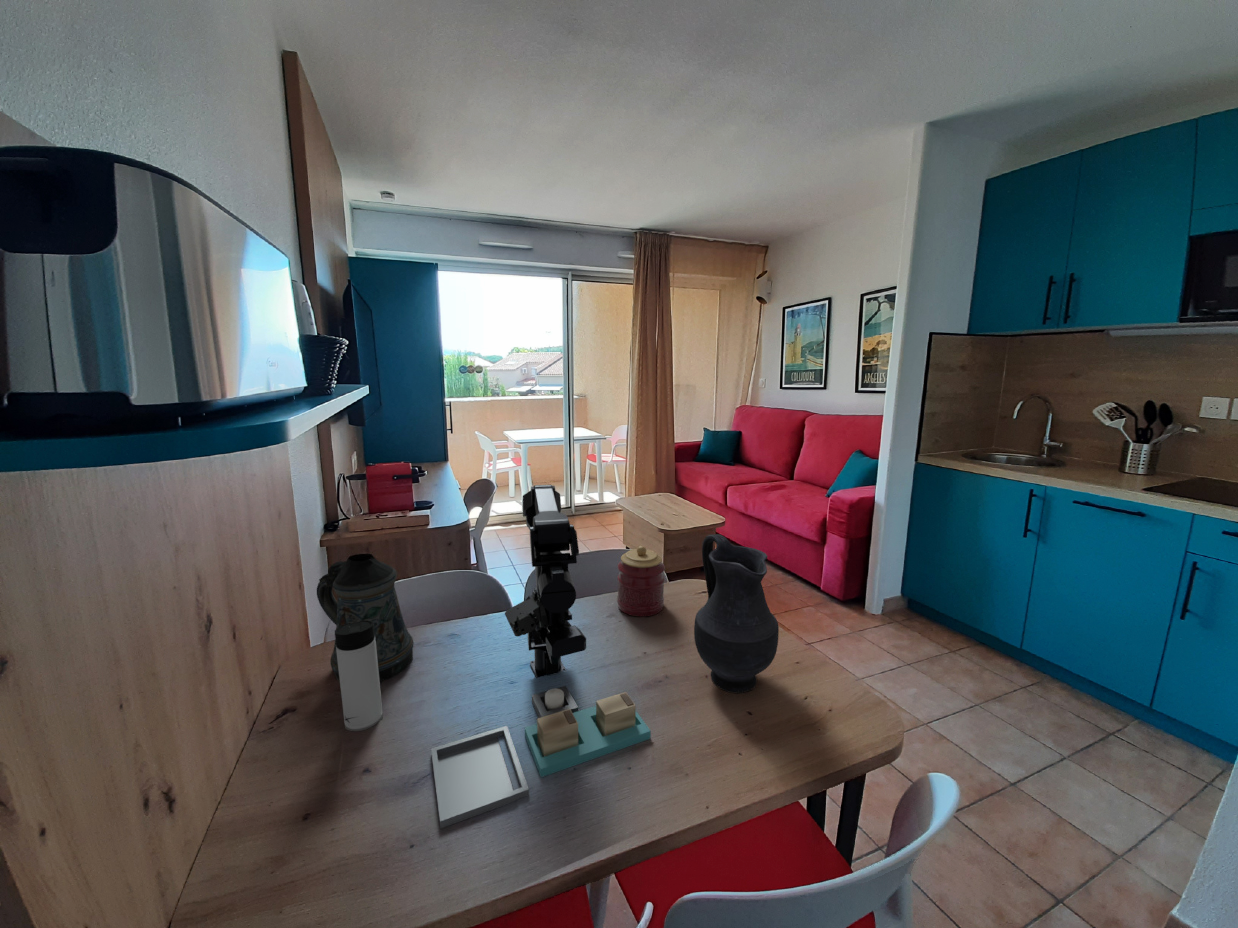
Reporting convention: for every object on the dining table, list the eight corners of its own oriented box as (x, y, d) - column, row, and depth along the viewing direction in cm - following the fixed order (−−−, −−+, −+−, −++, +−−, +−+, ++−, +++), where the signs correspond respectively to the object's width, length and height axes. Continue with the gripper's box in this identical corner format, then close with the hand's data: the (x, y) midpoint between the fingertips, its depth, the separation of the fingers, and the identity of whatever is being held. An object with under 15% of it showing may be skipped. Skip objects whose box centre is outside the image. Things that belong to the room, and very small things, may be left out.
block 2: (596, 724, 89) (596, 700, 88) (625, 715, 92) (625, 691, 91) (604, 739, 86) (605, 714, 85) (635, 729, 88) (635, 704, 87)
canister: (613, 615, 131) (613, 553, 127) (621, 593, 143) (621, 536, 140) (661, 619, 129) (663, 557, 125) (665, 597, 141) (667, 539, 138)
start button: (542, 702, 94) (542, 691, 94) (560, 697, 96) (560, 686, 96) (548, 714, 91) (548, 702, 91) (566, 708, 93) (566, 697, 92)
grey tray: (431, 758, 83) (431, 748, 82) (507, 735, 88) (507, 725, 88) (441, 832, 70) (440, 821, 69) (529, 800, 75) (528, 789, 75)
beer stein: (408, 680, 103) (399, 569, 98) (304, 695, 98) (289, 579, 93) (419, 638, 119) (411, 541, 114) (329, 649, 114) (318, 548, 109)
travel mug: (344, 740, 86) (332, 637, 82) (345, 717, 92) (334, 619, 88) (383, 728, 89) (374, 629, 85) (382, 706, 95) (373, 612, 91)
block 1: (537, 743, 85) (537, 717, 84) (570, 733, 87) (570, 707, 86) (544, 760, 81) (543, 733, 80) (578, 748, 84) (578, 722, 83)
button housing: (532, 706, 96) (531, 694, 95) (565, 696, 99) (565, 685, 98) (542, 730, 89) (542, 718, 89) (578, 718, 92) (578, 707, 92)
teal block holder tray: (524, 739, 87) (524, 727, 87) (625, 707, 95) (625, 696, 95) (541, 782, 78) (540, 768, 78) (650, 743, 87) (650, 730, 86)
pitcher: (723, 715, 94) (732, 569, 88) (668, 657, 112) (673, 533, 106) (792, 692, 101) (805, 555, 95) (730, 641, 119) (738, 523, 113)
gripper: (497, 573, 94) (500, 647, 97) (521, 619, 77) (524, 705, 80) (553, 564, 98) (554, 634, 101) (587, 605, 82) (587, 687, 85)
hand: (553, 662), depth 92 cm, fingers closed
